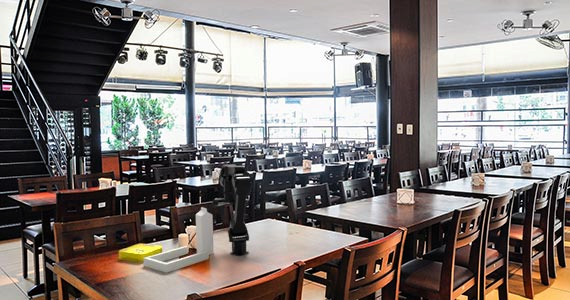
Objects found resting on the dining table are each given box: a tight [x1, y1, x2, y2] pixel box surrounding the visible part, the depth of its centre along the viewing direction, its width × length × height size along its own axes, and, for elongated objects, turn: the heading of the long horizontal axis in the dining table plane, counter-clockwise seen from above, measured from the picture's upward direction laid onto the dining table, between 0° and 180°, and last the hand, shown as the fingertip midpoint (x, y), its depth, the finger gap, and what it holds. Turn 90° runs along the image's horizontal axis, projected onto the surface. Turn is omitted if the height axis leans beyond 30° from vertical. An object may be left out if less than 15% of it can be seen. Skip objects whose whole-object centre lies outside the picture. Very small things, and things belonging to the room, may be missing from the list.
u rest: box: [143, 245, 210, 274], centre depth 197 cm, size 16×24×4 cm
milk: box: [195, 207, 214, 255], centre depth 210 cm, size 6×6×22 cm
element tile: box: [118, 243, 163, 264], centre depth 207 cm, size 15×15×5 cm
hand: (230, 219), depth 223 cm, fingers open, 9 cm apart
